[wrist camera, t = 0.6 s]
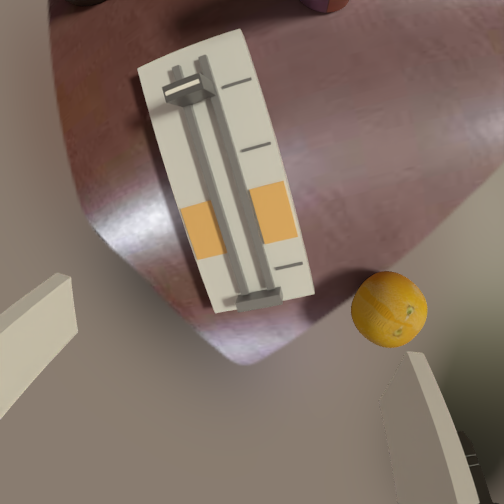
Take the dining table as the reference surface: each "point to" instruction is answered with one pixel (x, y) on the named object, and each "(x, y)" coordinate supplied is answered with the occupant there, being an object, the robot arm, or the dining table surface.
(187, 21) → the dining table surface
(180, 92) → the fader
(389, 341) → the fruit
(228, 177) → the console
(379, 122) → the dining table surface
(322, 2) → the beverage can
